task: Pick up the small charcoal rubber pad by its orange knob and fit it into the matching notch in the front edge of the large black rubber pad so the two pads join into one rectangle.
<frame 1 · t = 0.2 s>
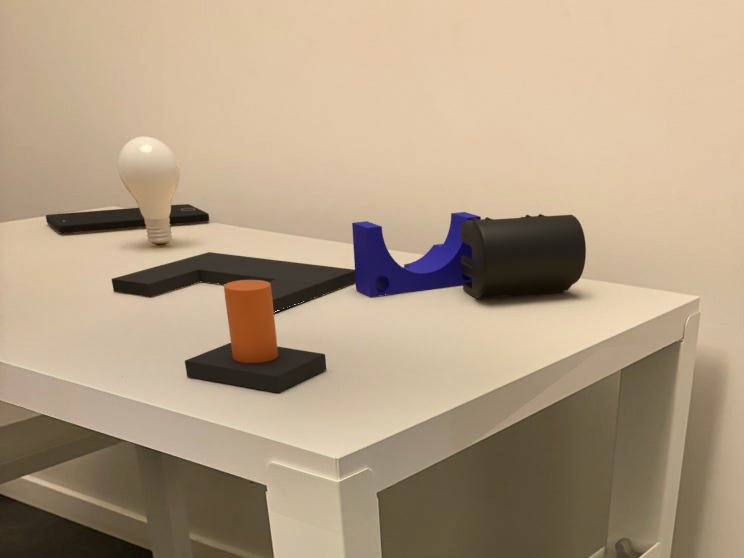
small pad: (257, 373, 71), on the table
lightbulb: (161, 247, 110), on the table
blue pipe cradle: (415, 287, 95), on the table
cell phone: (129, 224, 122), on the table
end cap: (519, 296, 92), on the table
big pad: (238, 287, 94), on the table
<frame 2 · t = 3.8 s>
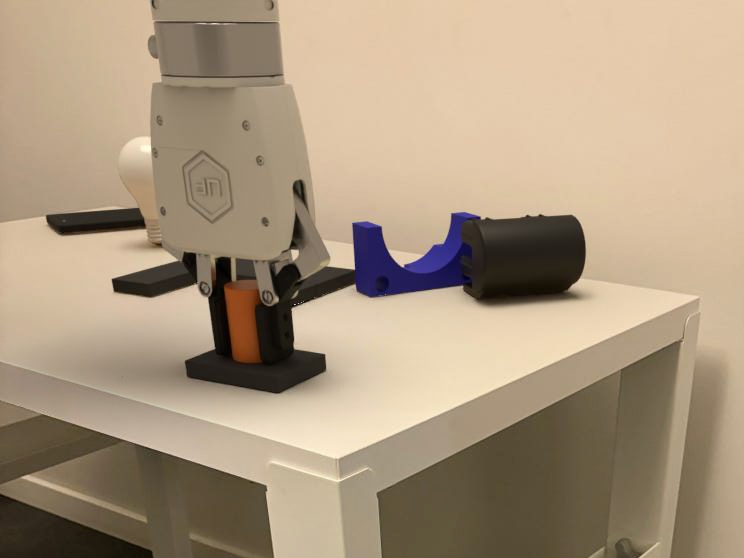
hand: (255, 352, 70), 2 cm above the table, tool pointing down, fingers closed on small pad, 3 cm apart
small pad: (257, 373, 71), on the table, touching gripper
everything else where it was.
when the fingers open (1 cm above the table, at t = 9.4 s): small pad stays where it is, on the table.
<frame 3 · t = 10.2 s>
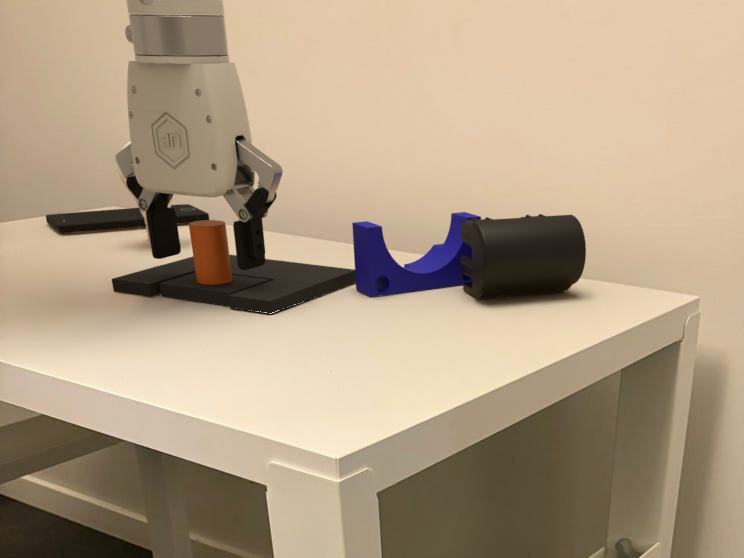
hand: (209, 261, 90), 3 cm above the table, tool pointing down, fingers open, 9 cm apart
small pad: (216, 294, 91), on the table
everything else where it was.
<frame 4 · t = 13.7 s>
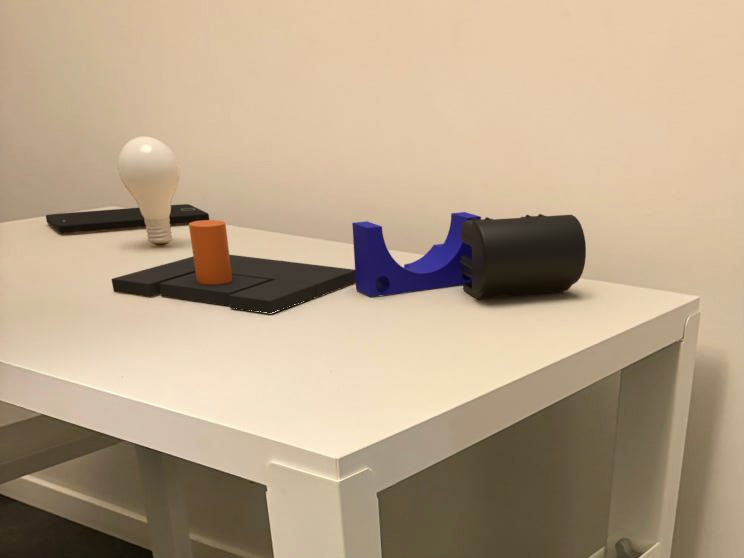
nothing on the table moved.
at the end: small pad 0.2 cm from the target spot on the big pad, point 0.0 cm above the big pad's base; small pad tilted 0°; the gripper is holding nothing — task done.
